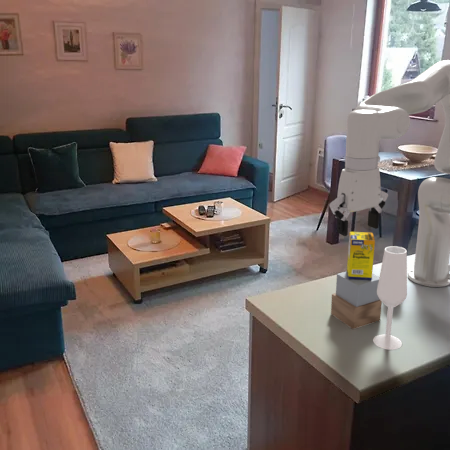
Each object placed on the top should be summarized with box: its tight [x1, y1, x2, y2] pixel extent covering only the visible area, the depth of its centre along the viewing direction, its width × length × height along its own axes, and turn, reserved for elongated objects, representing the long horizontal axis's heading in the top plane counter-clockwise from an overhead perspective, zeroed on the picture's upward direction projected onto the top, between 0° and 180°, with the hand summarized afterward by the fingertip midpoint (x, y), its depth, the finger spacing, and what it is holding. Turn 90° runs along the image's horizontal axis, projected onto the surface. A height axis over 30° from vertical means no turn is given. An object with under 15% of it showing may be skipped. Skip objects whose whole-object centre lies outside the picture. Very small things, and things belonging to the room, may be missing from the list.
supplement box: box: [346, 231, 376, 280], centre depth 125 cm, size 6×6×11 cm
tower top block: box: [335, 270, 380, 307], centre depth 127 cm, size 8×8×6 cm
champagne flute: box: [372, 245, 408, 351], centre depth 115 cm, size 7×7×24 cm
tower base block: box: [330, 292, 383, 330], centre depth 129 cm, size 9×9×6 cm
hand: (357, 230), depth 122 cm, fingers open, 9 cm apart
